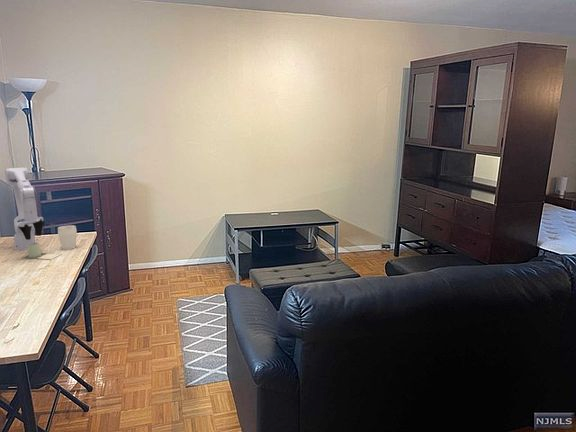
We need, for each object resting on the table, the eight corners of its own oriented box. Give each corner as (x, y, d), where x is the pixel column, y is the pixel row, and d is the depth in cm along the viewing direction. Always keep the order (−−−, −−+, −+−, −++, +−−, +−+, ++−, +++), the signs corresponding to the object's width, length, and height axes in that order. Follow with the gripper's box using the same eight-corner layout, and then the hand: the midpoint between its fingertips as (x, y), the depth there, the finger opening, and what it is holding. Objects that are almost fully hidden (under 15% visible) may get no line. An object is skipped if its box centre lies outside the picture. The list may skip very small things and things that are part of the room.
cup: (72, 251, 227) (70, 229, 224) (56, 250, 227) (53, 229, 224) (81, 246, 235) (79, 225, 233) (65, 245, 236) (63, 225, 233)
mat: (21, 259, 213) (21, 257, 212) (33, 253, 221) (33, 252, 221) (50, 260, 211) (50, 259, 211) (62, 255, 219) (62, 254, 219)
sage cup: (26, 257, 214) (24, 245, 213) (33, 253, 219) (32, 242, 218) (35, 257, 213) (34, 246, 212) (43, 254, 219) (41, 243, 217)
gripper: (27, 214, 204) (30, 241, 207) (47, 208, 218) (50, 234, 221) (13, 213, 205) (17, 241, 207) (34, 208, 219) (38, 233, 222)
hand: (33, 237), depth 214 cm, fingers open, 7 cm apart
